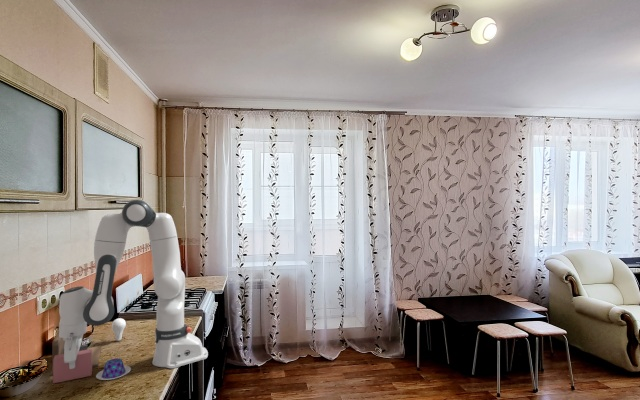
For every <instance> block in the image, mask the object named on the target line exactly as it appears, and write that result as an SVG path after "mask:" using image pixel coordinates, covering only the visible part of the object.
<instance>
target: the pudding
mask: <svg viewBox="0 0 640 400" xmlns="http://www.w3.org/2000/svg"><path fill="white" fill-rule="evenodd" d="M131 370H132V367H130V366H129V365H124V361H123V359H122V358H118V357H117V358H112V359H109V360H107V361H106V362H105V364H104V367H103V369H102V370H101V371H99V372H97V373H96V375H95V378H96V379H98V380H100V381H106V380H107V381H108V380H115V379H118V378H121V377H124V376H126V375H127V374H129V373H130V371H131Z"/></svg>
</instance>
